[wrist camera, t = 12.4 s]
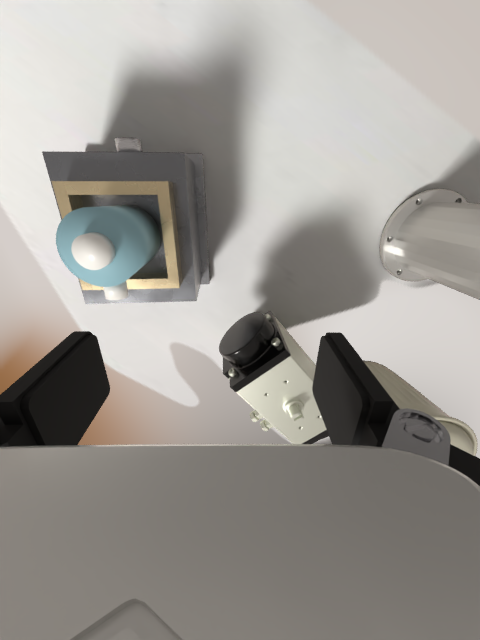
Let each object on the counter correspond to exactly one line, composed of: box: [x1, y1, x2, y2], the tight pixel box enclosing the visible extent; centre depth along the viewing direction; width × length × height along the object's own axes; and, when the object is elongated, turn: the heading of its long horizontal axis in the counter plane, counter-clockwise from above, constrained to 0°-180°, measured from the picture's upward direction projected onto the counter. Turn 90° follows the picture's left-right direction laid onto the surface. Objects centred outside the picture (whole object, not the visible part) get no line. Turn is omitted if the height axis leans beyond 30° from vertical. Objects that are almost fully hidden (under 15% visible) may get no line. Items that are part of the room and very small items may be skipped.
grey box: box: [42, 137, 210, 304], centre depth 29 cm, size 14×17×12 cm
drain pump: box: [56, 205, 161, 300], centre depth 22 cm, size 6×7×9 cm
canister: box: [363, 361, 477, 456], centre depth 40 cm, size 18×18×21 cm
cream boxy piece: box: [219, 311, 329, 444], centre depth 35 cm, size 18×8×18 cm, turn 39°
